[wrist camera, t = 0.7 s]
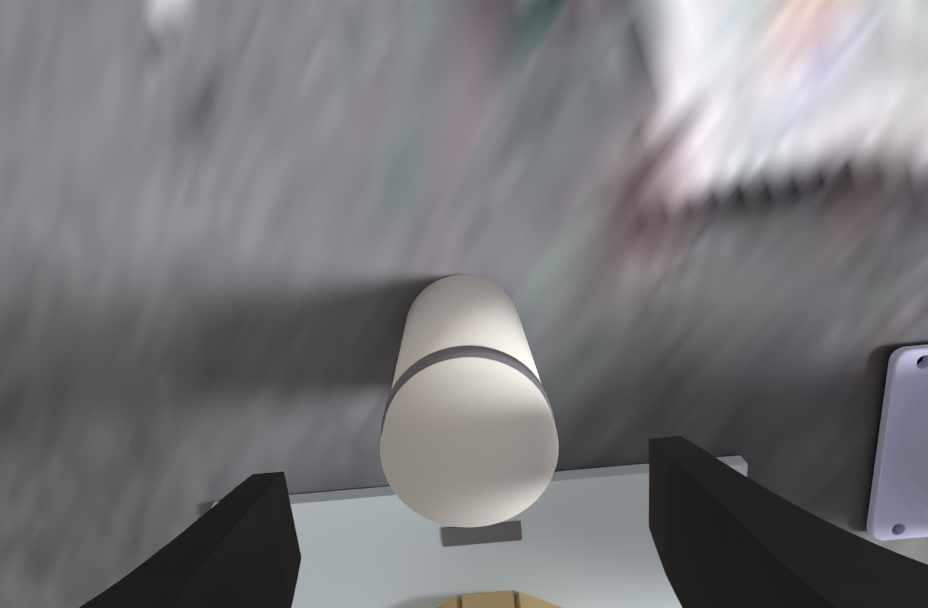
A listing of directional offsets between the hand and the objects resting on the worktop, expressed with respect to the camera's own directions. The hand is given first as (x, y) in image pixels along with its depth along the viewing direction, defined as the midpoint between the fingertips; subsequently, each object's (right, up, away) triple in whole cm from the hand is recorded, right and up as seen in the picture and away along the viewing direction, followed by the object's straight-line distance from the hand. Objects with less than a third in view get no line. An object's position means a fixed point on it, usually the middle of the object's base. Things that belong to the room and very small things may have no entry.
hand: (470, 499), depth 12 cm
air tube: (0, +3, +9) cm, 10 cm away
